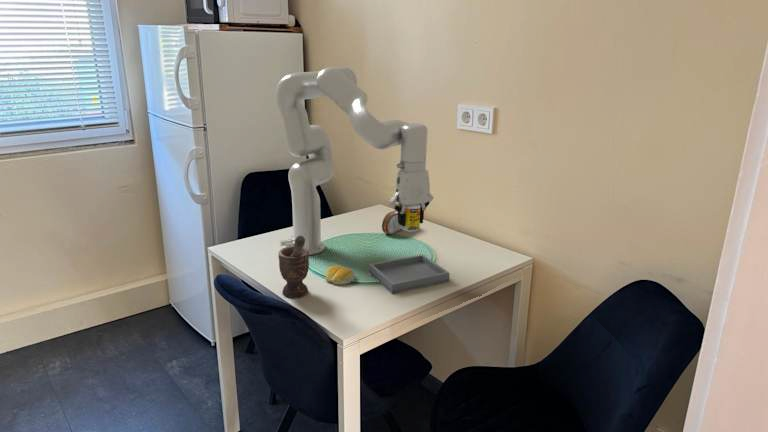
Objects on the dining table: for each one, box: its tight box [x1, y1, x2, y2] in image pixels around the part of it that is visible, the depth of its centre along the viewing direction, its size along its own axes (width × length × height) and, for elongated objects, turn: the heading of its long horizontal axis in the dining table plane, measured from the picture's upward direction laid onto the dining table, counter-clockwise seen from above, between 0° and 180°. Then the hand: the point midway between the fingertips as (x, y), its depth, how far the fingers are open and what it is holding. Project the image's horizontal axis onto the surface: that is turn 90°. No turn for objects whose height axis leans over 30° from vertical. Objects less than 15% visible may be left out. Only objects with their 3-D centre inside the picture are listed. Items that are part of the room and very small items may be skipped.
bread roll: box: [324, 265, 355, 286], centre depth 164 cm, size 8×9×4 cm
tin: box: [381, 209, 403, 235], centre depth 204 cm, size 15×3×8 cm, turn 144°
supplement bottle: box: [401, 204, 421, 233], centre depth 162 cm, size 6×6×10 cm
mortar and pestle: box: [278, 236, 310, 298], centre depth 151 cm, size 12×9×20 cm
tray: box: [368, 254, 450, 295], centre depth 166 cm, size 20×16×3 cm
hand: (410, 222), depth 163 cm, fingers closed on supplement bottle, 5 cm apart
